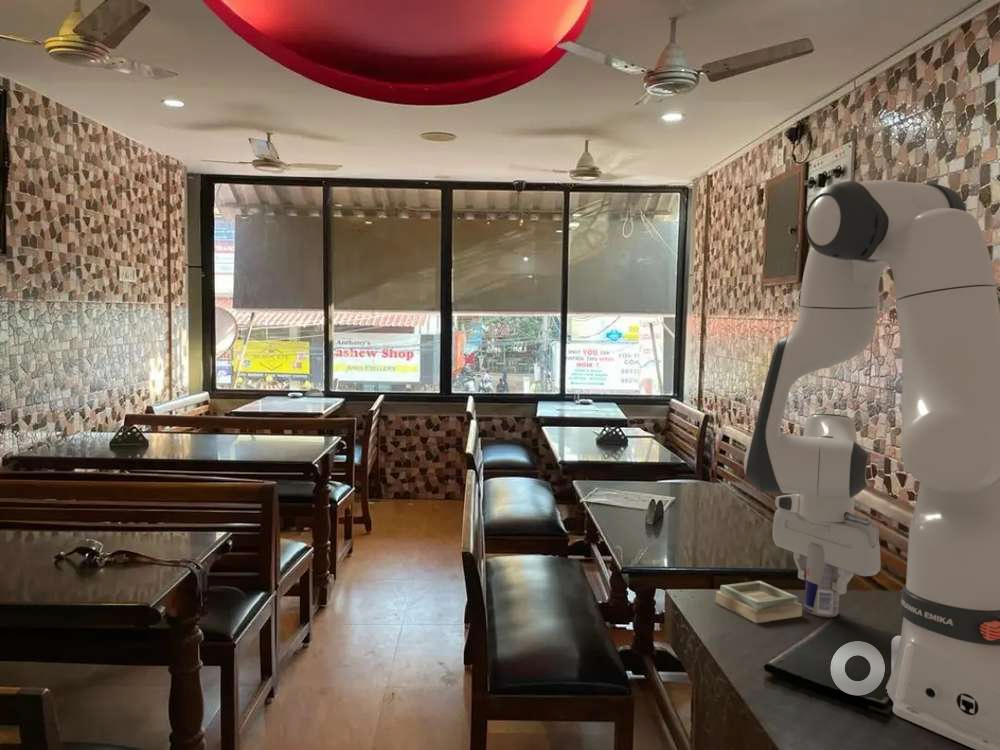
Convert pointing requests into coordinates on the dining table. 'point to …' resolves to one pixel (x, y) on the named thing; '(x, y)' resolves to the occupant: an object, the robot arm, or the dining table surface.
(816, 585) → the energy drink
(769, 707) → the dining table surface
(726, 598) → the plinth
